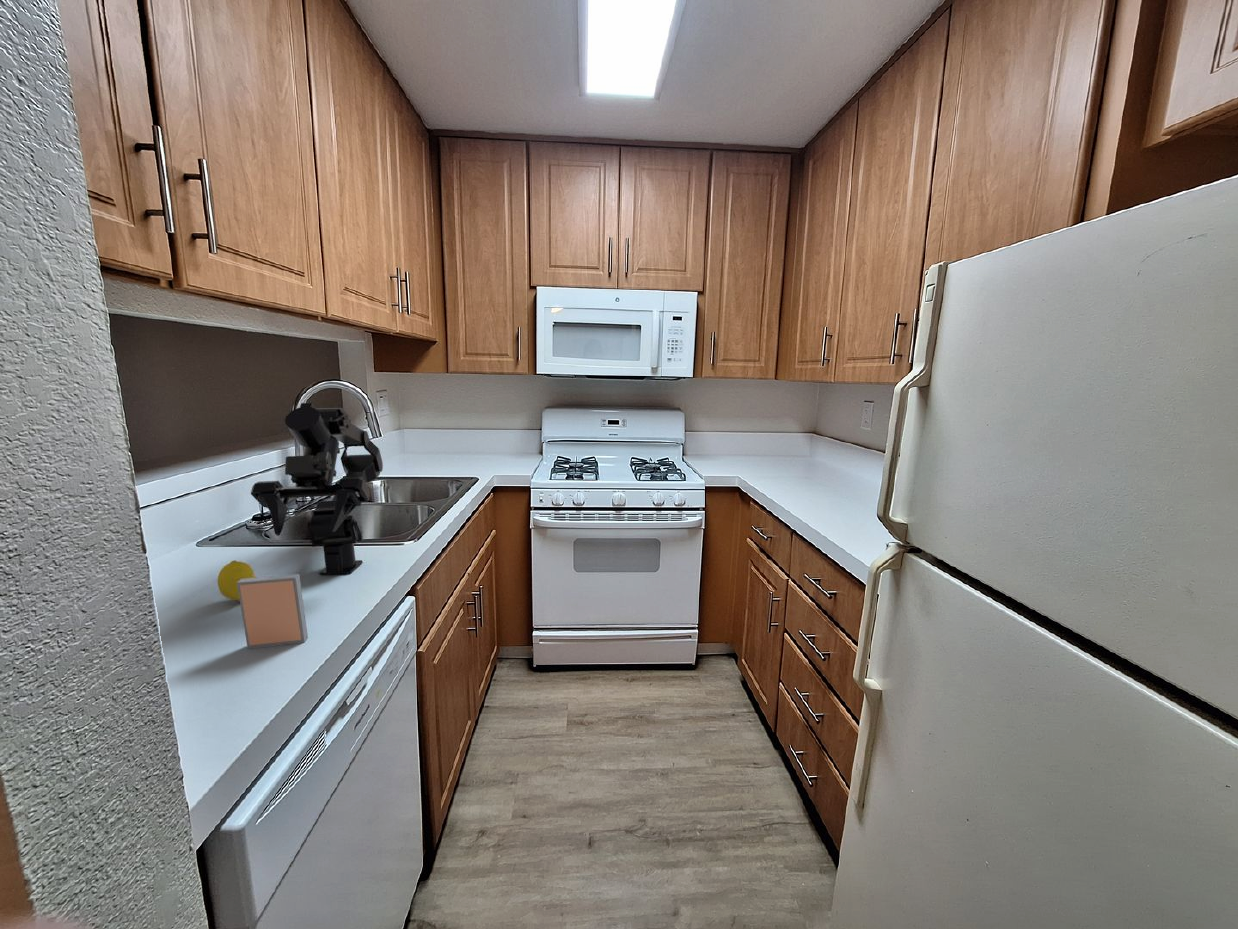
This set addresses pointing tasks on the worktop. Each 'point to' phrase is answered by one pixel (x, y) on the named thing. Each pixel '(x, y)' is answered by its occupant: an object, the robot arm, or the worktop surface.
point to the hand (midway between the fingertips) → (305, 532)
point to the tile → (272, 610)
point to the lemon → (233, 578)
